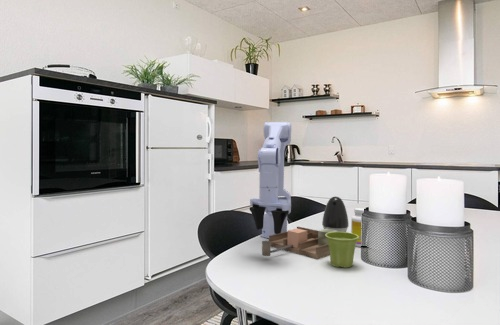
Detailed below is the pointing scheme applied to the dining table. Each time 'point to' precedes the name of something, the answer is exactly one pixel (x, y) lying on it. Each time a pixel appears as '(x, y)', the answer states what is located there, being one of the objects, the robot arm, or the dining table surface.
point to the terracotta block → (293, 241)
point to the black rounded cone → (335, 215)
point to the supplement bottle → (357, 224)
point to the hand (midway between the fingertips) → (268, 231)
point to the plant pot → (341, 248)
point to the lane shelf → (305, 243)
